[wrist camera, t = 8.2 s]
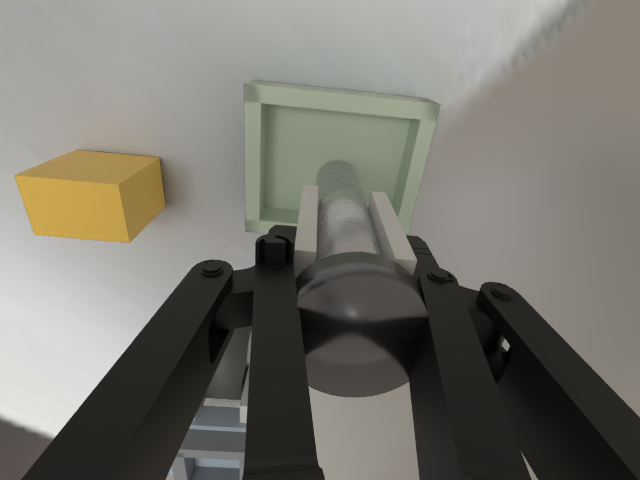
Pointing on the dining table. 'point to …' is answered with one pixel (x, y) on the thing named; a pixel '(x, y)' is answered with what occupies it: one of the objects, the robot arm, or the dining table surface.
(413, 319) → the pin
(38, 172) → the block
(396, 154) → the tray
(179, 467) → the cart
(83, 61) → the dining table surface
